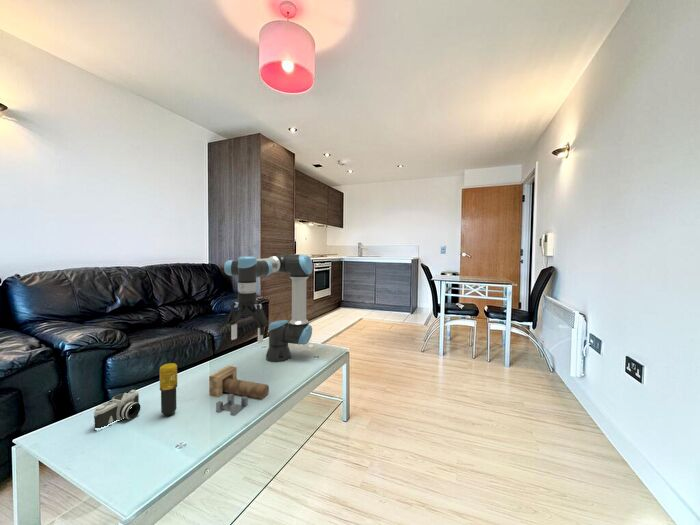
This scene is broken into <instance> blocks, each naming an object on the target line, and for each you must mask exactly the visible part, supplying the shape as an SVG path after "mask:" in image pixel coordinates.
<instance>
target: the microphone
mask: <svg viewBox="0 0 700 525" xmlns="http://www.w3.org/2000/svg"><path fill="white" fill-rule="evenodd" d="M177 388H178V365H177V364H176V363H173V362H171V363H165V364H163V365H161V366H160V367H159V391H160V411H161V412H160V413H161V414H162V415H163V416H164V417H166V418H168V417H171V416H173V415H174V414H175V412H176V410H177V407H178V406H177Z"/></svg>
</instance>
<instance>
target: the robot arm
mask: <svg viewBox="0 0 700 525" xmlns="http://www.w3.org/2000/svg"><path fill="white" fill-rule="evenodd" d="M313 266H314V264H313V261H312V258H311V257H310V256H309V255H307V254H288V253H287V254H281V255H273V256H269V257H267V258H256V257H255V256H239V257H238V258H237V260H236V259H231V260H230V259H229V260H227V261H226V262H225V263H224V265H223V272H224V273H225V275H227V276H232V277H237V279H238V280H237V292H238V293H237V301H235V302H232V304H231V309H230V311H229V314H228V316H227V319H226V320H225V322H226V324H229V329H230V334H231V335H230V336H231V337H230V339H231V341H233V340H236V339H237V338H238V323H237V322H238V321H239V319H240V318H241V316H242V315H243V314H247V315H250V316H252V318H253V320H254V321H255V322H256V324H257V326H258V328H257V344H261V343H263V342H264V335H265V328H266V327H268V349H267V351H266V354H265V360H266V361H267V362H270V363H283V362H287V361H289V360H291V358H292V353H291V350H290V347H289V344H293V345H294V344H295V345H299V346H300V345H304V346H305V345H307V344H308V343H309V342H310V340H311V338H312V334H313V327H312V325H311V324H310V323H309V320H308V319H307V280H308V279H309V278H310V275H312V272H313V269H314V268H313ZM273 273H281V274H288V275H289V278H290V279H291V319H290V320H287V319H282V320H281V319H280V320H275V321H272V322H270V323H269V321H268V318H267V316H266V314H265V311H264V309H263V308H264V307H263V304H262V303H258V304H257V303H256V301H257V278H261V277H263V278H265V277H268V276H270V275H271V274H273ZM238 308H239V309H238ZM288 359H289V360H288ZM286 360H287V361H286Z"/></svg>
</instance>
